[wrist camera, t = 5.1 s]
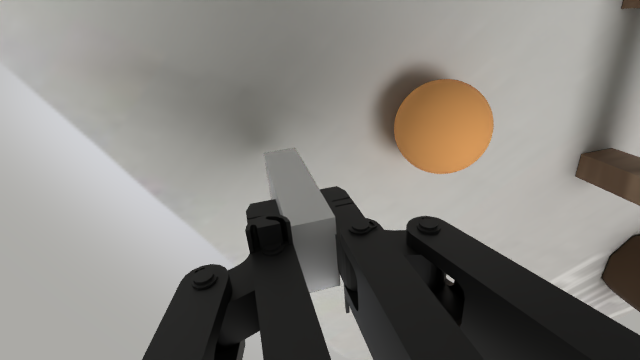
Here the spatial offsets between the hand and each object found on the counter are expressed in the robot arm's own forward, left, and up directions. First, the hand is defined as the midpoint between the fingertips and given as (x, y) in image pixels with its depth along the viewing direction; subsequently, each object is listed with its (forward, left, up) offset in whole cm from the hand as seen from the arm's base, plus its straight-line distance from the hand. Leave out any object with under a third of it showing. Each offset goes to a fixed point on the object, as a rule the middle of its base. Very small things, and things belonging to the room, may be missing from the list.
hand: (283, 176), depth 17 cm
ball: (0, +10, -3) cm, 10 cm away
